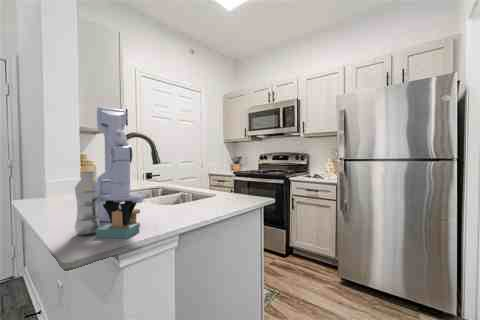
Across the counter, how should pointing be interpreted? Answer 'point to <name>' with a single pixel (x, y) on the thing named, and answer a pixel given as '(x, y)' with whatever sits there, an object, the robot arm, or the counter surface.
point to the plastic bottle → (87, 204)
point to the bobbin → (134, 217)
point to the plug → (117, 219)
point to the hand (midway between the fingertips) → (120, 224)
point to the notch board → (117, 231)
